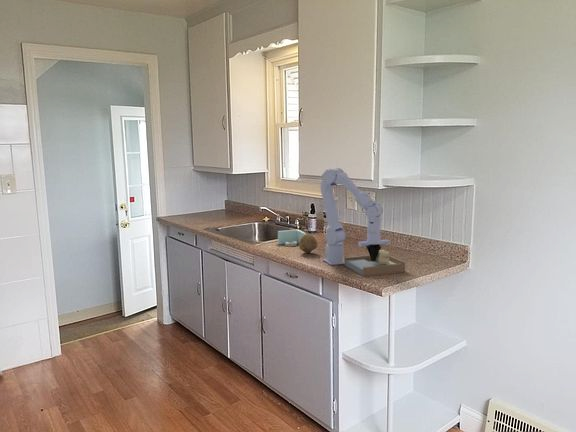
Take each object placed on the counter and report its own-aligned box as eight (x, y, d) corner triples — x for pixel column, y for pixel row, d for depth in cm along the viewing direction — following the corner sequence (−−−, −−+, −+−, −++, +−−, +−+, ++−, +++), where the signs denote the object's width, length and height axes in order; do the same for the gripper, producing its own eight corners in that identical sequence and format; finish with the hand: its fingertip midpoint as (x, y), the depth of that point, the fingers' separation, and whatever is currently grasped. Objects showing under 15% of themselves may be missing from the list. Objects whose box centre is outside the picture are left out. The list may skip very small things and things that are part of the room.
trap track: (344, 265, 216) (344, 255, 216) (382, 261, 223) (382, 252, 222) (363, 276, 199) (364, 265, 198) (404, 271, 205) (405, 261, 204)
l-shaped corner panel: (277, 244, 261) (277, 231, 260) (297, 242, 266) (297, 229, 264) (285, 248, 250) (285, 235, 249) (306, 247, 255) (306, 233, 253)
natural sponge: (320, 252, 241) (320, 233, 239) (311, 256, 234) (311, 236, 232) (305, 250, 246) (305, 231, 244) (296, 253, 239) (296, 234, 237)
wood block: (373, 261, 213) (373, 250, 212) (383, 260, 215) (383, 249, 214) (379, 264, 208) (379, 253, 208) (389, 263, 210) (389, 252, 209)
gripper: (363, 234, 202) (362, 264, 204) (393, 231, 206) (392, 261, 208) (355, 231, 208) (355, 260, 211) (384, 229, 213) (383, 258, 215)
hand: (373, 261), depth 210 cm, fingers closed
